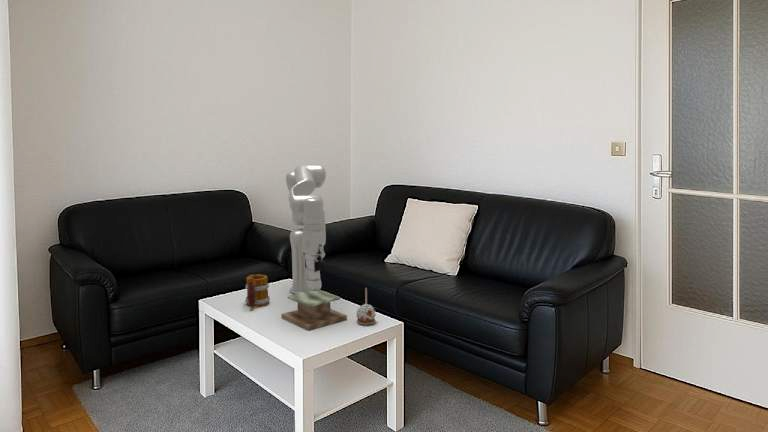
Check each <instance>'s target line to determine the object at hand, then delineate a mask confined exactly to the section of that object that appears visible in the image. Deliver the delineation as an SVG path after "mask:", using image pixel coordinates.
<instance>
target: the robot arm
mask: <svg viewBox="0 0 768 432" xmlns="http://www.w3.org/2000/svg"><path fill="white" fill-rule="evenodd" d="M325 169H326V168H325V167H324V166H323V165H322V164H300V165H297V166H296V167H295V169H294V170H293V171H289V172H287V173H286V175H285V183H286V188H287V189H288V192H289V193H288V202H289V203H288V204H289V208H290V210H291V215H292V216H291V217H292V222H293V225H295V226H303V228H295V229H292V231H290V233H289V242H290V246H291V247H290V248H291V262H292V263H291V265H292V267H291V268H292V287H290V288H289V292H290V293H291V294H292V295H295V294H299V293H303V292H308V291H309V290H307V288H306V280H307V266H306V259H305V256H306V254H310V255H313V256H314V257H315V261H316V262H315V271H320V272H321V271H322V269H323V267H322V265H323V263H322V262H323V259H324V258H325V256H326V253H325V251H324V246H325V245H326V243H327V242H326V241H327V234H326V233H327V232H326V230H327V229H326V213H325V210H324V199H323V197H322V196H320V195H319V194H313V193H314V191H315V190H316V189H318V188H319V189H320V188H321V187H323V184H324V183H325V182H326V180H327V179H326V178H327V177H326V176H327V173H326V172H327V171H326V170H325ZM317 253H319V254H317ZM317 256H319V257H318V258H317Z"/></svg>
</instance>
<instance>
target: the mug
mask: <svg viewBox="0 0 768 432" xmlns="http://www.w3.org/2000/svg"><path fill="white" fill-rule="evenodd" d="M245 278H246V284H245V287H244V288H245V289H246V292H247V293H246V297H245V300H244V302H245V303H246V306H247V307H250V309H254V308H260V307H266V306H268V305H270V298H271V297H270V295H269V287H270V283H269V282H268V280H269V279H268V276H267V275H266V274H265V275H264V274H251V275H248V276H247V277H245Z"/></svg>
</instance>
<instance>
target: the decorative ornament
mask: <svg viewBox="0 0 768 432" xmlns="http://www.w3.org/2000/svg"><path fill="white" fill-rule="evenodd" d="M364 296H365V297H364V298H365V301H364V304H362V305H359V307H358V308H357V310H356V318H357V319H356V323H357V324H358V325H359V324H360V325H367V326H368V325H371V324H372V325H373V324H375V323H376V318H375V317H376V310H375V307H373V306H372V305H371V304H368V288H367V287H365V288H364Z"/></svg>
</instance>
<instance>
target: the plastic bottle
mask: <svg viewBox="0 0 768 432" xmlns="http://www.w3.org/2000/svg"><path fill="white" fill-rule="evenodd" d="M317 254H319V253H317ZM318 257H319V256H317V258H318ZM305 259H306V266H307V280H306V288H307V290H309V291H318V290H321V289H322V279H321V273H320V272H321V270H320V271H315V262H316V261H315V257H314V256H313V255H310V254H306V256H305Z"/></svg>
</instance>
